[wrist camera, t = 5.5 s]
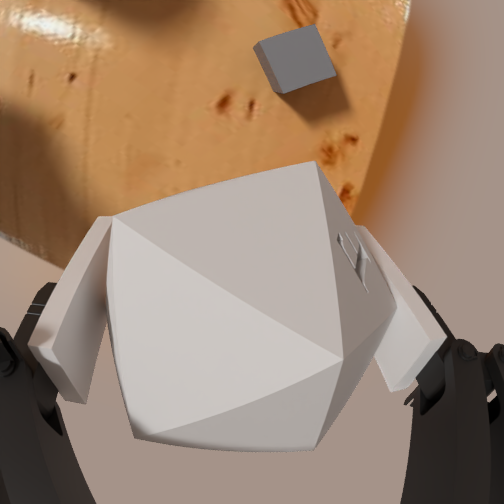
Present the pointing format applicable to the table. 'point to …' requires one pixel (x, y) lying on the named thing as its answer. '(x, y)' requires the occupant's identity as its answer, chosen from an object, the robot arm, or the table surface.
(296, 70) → the grey cube
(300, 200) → the die
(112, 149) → the table surface
